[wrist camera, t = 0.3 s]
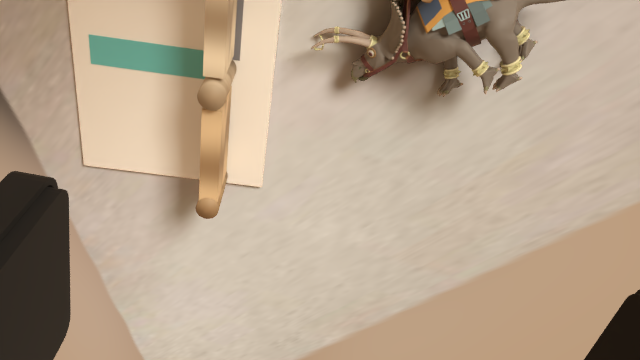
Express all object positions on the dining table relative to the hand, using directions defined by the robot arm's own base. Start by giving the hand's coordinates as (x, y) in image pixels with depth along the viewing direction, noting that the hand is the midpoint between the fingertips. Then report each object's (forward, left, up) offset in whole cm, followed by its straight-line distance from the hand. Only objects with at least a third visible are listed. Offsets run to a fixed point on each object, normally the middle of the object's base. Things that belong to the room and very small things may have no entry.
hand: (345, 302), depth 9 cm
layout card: (+10, -11, -36) cm, 39 cm away
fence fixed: (+5, -7, -35) cm, 36 cm away
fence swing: (+16, -7, -35) cm, 39 cm away
